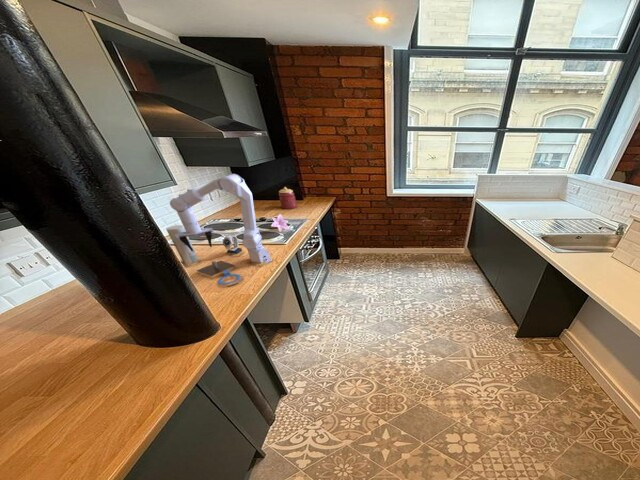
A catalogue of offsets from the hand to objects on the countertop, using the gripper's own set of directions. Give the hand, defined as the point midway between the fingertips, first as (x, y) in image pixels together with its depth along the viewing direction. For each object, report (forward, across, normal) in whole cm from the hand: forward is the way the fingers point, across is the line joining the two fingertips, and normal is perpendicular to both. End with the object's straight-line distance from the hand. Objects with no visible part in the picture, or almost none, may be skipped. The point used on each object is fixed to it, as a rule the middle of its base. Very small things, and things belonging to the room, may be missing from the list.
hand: (201, 248), depth 124 cm
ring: (+9, -5, +25) cm, 27 cm away
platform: (+9, -2, +10) cm, 14 cm away
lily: (+10, -46, -29) cm, 55 cm away
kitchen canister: (+10, -70, -83) cm, 109 cm away
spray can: (+10, +6, -7) cm, 13 cm away
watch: (+10, -13, -5) cm, 17 cm away
